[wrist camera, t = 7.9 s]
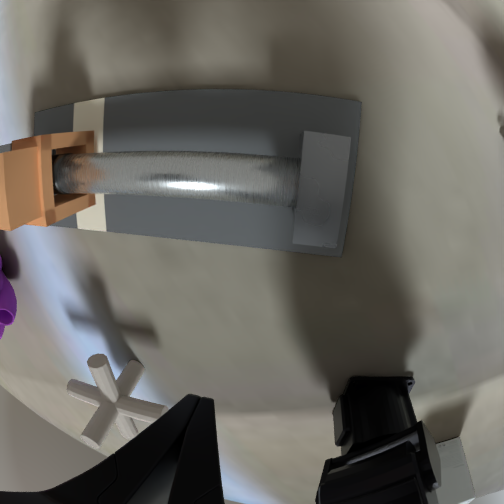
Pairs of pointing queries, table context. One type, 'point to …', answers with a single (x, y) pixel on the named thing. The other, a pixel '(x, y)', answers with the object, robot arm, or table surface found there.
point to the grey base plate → (208, 140)
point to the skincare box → (454, 474)
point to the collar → (39, 180)
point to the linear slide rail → (224, 179)
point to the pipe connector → (113, 400)
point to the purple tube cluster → (6, 302)
